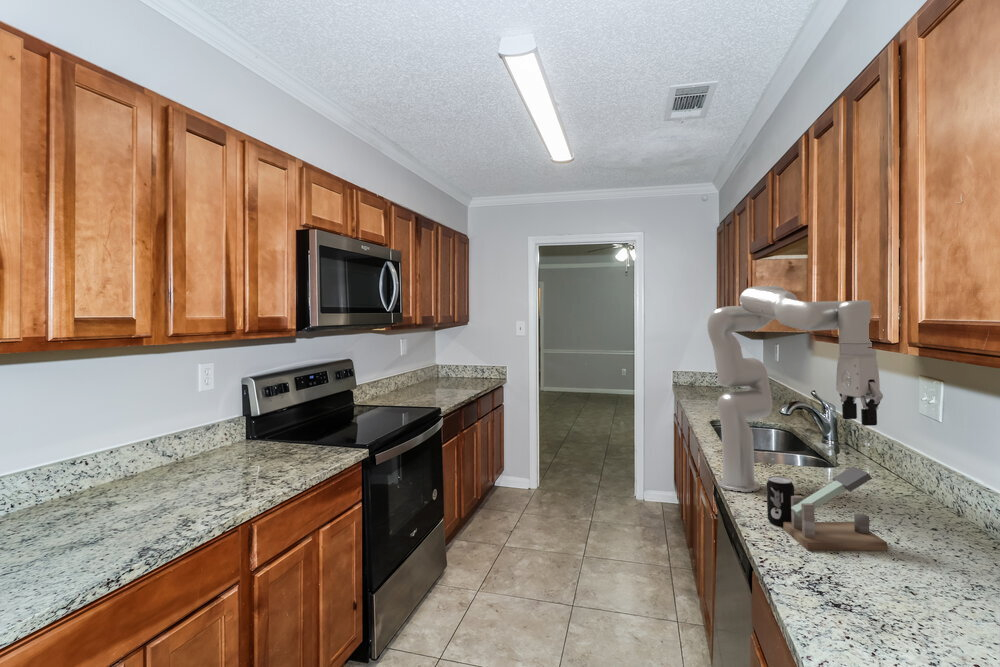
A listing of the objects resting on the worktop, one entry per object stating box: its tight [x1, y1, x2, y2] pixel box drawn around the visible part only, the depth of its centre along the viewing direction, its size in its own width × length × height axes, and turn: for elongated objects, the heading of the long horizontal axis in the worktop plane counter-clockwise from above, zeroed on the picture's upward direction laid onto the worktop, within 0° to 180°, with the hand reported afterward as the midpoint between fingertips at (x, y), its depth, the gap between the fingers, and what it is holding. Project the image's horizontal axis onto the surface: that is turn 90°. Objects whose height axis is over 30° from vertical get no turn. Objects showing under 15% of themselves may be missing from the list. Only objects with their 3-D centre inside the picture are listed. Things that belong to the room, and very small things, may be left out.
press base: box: [782, 495, 888, 552], centre depth 123 cm, size 12×18×10 cm, turn 85°
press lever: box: [791, 465, 873, 517], centre depth 123 cm, size 6×19×2 cm
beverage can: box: [766, 475, 795, 527], centre depth 134 cm, size 7×7×12 cm
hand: (859, 421), depth 122 cm, fingers open, 6 cm apart
